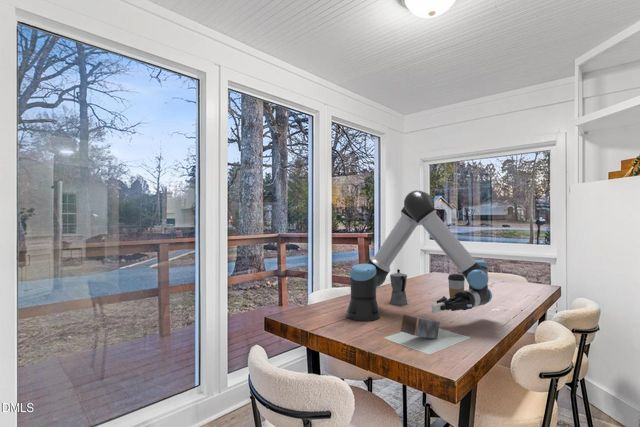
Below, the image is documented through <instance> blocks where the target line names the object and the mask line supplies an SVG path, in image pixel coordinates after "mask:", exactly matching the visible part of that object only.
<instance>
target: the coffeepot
mask: <svg viewBox="0 0 640 427" xmlns="http://www.w3.org/2000/svg"><path fill="white" fill-rule="evenodd" d="M400 271H401V269H397V270H396V272H395V273H391V274H389V277H390V284H391V288H392V290H391V296H390V304H391V305H393V306H406V305H408V300H407V298H408V297H407V293H406V285H407V279H408V274H405V273H402V272H400Z"/></svg>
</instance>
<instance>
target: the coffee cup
mask: <svg viewBox="0 0 640 427" xmlns="http://www.w3.org/2000/svg"><path fill="white" fill-rule="evenodd" d="M447 277H448V278H447V279H448V294H449V298H451V297H454V296H455V294H456V293H457V292H461V291H464V290H465V281H466V278H465V277H464V276H463V274H460V273H459V274H458V273H450V274H448V276H447Z"/></svg>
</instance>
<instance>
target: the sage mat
mask: <svg viewBox="0 0 640 427" xmlns="http://www.w3.org/2000/svg"><path fill="white" fill-rule="evenodd" d="M471 338H472V336H471V337H470V336H467V335H463V334H460V333H456V332H453V331H450V330H447V329H442V328H439V331H438V338H437V339H435V338H428V337H421V336H414V335H411V334H408V333H405V332H402V331H400V332H397V333H394V334H391V335H388V336H387V335H386V336H385V337H383V339H384V340H388V341H390V342H393V343H396V344H399V345H401V346H404V347H407V348H410V349H412V350H415V351H418V352H421V353H423V354H427V355H432V354H434V353H436V352H440V351H442V350H445V349H446V348H449V347H452V346H454V345H457V344H459V343H461V342H465V341H467V340H468V339H471Z"/></svg>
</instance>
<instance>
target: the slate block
mask: <svg viewBox="0 0 640 427" xmlns="http://www.w3.org/2000/svg"><path fill="white" fill-rule="evenodd" d="M439 329H440V321H437V320H433V319H430V318H429V319H428V318H424V317H420V316H414V315H409V314H406V313H403V315H402V321H401V326H400V332H405V333H408V334H411V335H414V336H421V337H428V338H435V339H437V338H438V331H439Z"/></svg>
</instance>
